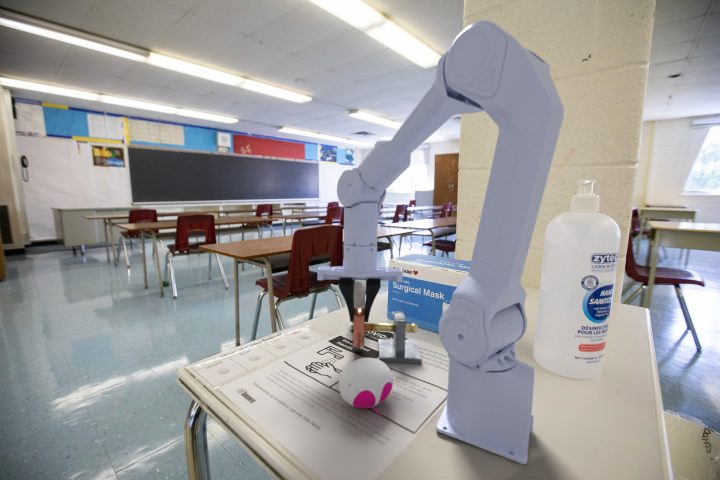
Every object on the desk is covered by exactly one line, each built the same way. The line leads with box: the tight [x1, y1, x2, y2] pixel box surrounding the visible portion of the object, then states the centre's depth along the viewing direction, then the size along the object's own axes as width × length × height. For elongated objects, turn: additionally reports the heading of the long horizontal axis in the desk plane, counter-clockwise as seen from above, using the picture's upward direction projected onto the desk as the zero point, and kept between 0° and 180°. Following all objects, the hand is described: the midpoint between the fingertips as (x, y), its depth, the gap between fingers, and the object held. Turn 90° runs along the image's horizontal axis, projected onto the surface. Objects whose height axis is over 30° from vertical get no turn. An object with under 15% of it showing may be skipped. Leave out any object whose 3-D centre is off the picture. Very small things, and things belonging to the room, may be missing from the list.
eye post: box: [377, 310, 423, 364], centre depth 54 cm, size 7×7×7 cm
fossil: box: [351, 280, 366, 325], centre depth 66 cm, size 6×4×10 cm, turn 168°
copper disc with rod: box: [352, 307, 419, 348], centre depth 54 cm, size 11×7×7 cm, turn 88°
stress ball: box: [338, 357, 394, 418], centre depth 41 cm, size 8×8×7 cm
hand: (359, 319), depth 54 cm, fingers closed on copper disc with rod, 2 cm apart
